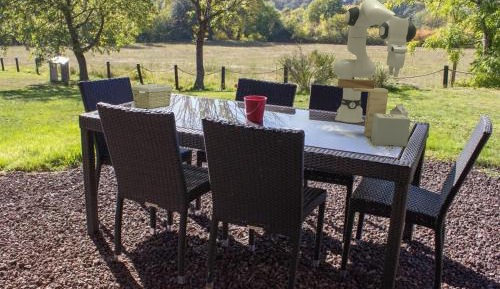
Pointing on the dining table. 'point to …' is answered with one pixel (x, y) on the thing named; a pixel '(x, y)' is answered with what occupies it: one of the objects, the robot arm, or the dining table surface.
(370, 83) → the walnut bar
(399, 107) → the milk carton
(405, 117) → the letter
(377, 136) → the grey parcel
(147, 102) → the storage basket
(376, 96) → the pine shelf
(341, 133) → the dining table surface
